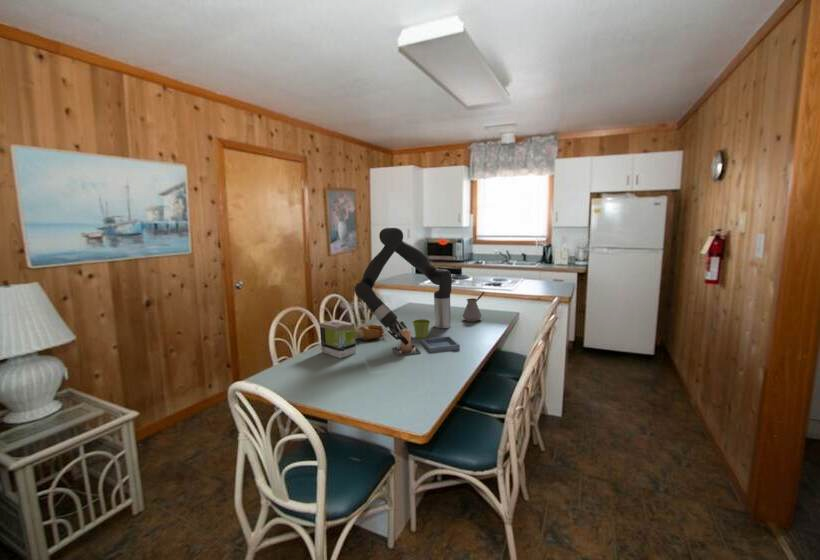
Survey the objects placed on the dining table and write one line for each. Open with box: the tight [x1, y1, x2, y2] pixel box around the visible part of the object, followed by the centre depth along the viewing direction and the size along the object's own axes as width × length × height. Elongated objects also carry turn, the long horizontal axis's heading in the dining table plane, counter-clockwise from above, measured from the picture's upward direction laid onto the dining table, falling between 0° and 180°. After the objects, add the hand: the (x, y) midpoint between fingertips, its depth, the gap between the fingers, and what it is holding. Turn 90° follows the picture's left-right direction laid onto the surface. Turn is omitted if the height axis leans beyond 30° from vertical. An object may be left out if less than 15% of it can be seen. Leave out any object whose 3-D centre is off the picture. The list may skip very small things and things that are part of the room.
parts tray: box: [392, 344, 421, 357], centre depth 187 cm, size 11×11×2 cm
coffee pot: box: [462, 291, 487, 323], centre depth 242 cm, size 21×12×15 cm, turn 141°
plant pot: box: [412, 318, 431, 339], centre depth 208 cm, size 9×9×9 cm
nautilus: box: [355, 323, 391, 341], centre depth 208 cm, size 8×22×15 cm
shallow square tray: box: [421, 335, 461, 353], centre depth 193 cm, size 15×15×2 cm
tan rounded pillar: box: [400, 327, 412, 353], centre depth 186 cm, size 5×5×11 cm
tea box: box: [319, 319, 357, 359], centre depth 188 cm, size 15×10×15 cm, turn 47°
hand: (409, 341), depth 185 cm, fingers closed on tan rounded pillar, 5 cm apart
